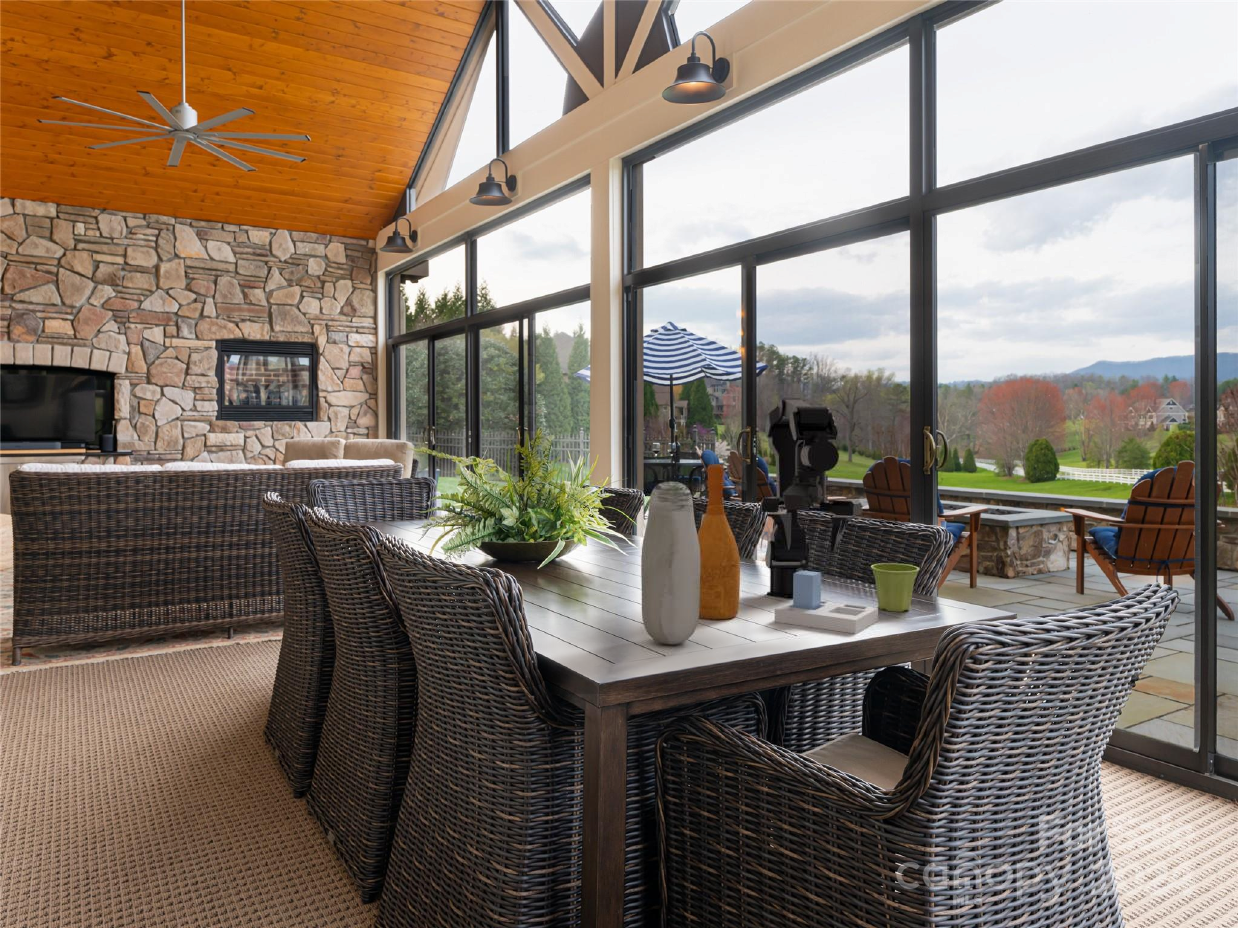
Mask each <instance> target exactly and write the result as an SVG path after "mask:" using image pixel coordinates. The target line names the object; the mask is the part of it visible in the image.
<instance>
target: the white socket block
mask: <svg viewBox="0 0 1238 928" xmlns="http://www.w3.org/2000/svg"><path fill="white" fill-rule="evenodd" d="M774 622H775V623H782V624H787V625H794V626H795V625H796V626H801V627H802V626H803V627H809V628H815V629H821V630H829V631H835V632H842V633H847V634H858V633H859V632H862V631H863V630H865V629H867V628H869V627H870V626H872V625H874V624H876V623H877V622H879V607H870V606H861V605H854V604H847V603H846V604H845V603H838V602H831V601H823V600H821V608H819V609H816V610H809V609H801V608H794V607H793V600H792V601H790V602H788V603H786V604H785V603H784V604H783V605H780V606H778V607H776V608H774Z"/></svg>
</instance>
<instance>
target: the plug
mask: <svg viewBox="0 0 1238 928" xmlns="http://www.w3.org/2000/svg"><path fill="white" fill-rule="evenodd" d="M821 593H822V572H818V571H809V570H802V571H799V572H796V573H793V598H792V601H793V607H794V608H801V609H809V610H816V609H819V608H821V601H822V600H821V599H822V597H821V596H822V594H821Z"/></svg>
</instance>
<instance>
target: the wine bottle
mask: <svg viewBox="0 0 1238 928" xmlns="http://www.w3.org/2000/svg"><path fill="white" fill-rule="evenodd" d="M706 469H707V483H706V484H707V485H706V487H707V488H708V497H707V508H706V509H705V510H706V512H705V514H702V515H701V523H700V527H699V529H698V531H697V536H698V541H699V547H700V600H699V618H700V619H706V620H727V619H733V618H734V617H736V616H737V615H738V613H739V608H740V594H741V593H740V592H741V591H740V589H741V588H740V587H741V586H740V585H741V559H740V552H739V549H738V545H737V542H736V538H735V536H734V534H733V531H732V529H731V527H730V524H729V521H728V519H727V516H726V512H725V509H724V501H723V488H724V487H725V481H724V477H725V467H724V466H723V465H722V464H719V463H714V464H713V463H712V464H710V465H708V466H707V468H706Z"/></svg>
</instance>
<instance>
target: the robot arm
mask: <svg viewBox="0 0 1238 928" xmlns="http://www.w3.org/2000/svg"><path fill="white" fill-rule="evenodd" d="M764 433H765V437H766V438H767V444H768V448H769V449H770V451H771V452H772V454H773V455H774V456H775V467H776V469H775V470H776V472H775V473H776V496H769V497H764V498H762V500H761V501H760V512H761V513H766V516H767V517H769V518H772V520H773V521H774V522H775V525H774V527H773V529H772V531H771V532H770V540H768V543H767V547H766V551H765V557H764V558H765V559H764V560H765V566H766V567H767V568H768V569H769V573H770V575H769V576H770V577H769V578H770V579H769V591H767V592H766V595H768V596H774V597H782V598H789V599H793V573H796V572H799V571H803V569H808V568H809V559H810V554H811V549H812V548H811V547H810V545H809V541H807V537H806V536H807V534H806V533H807V532H806V530H805V528H804V527H802V526H801V524H800V522H799V517H798V514H799V513H798V511H800V512H801V511H802V512H803V511H804V512H805V511H806V512H807V511H809V512H824V513H825V512H830V513H832V514H834V515H835V516H831V517H830V522H831V525H832V526H831V536H830V538H831V539H830V553H835V552H836V551H837V548H838V545H839V543H840V540H841V538H842V536H843V533H844V531H845V529H846V528H847V526H848V524H849V522H850V521H851V520H854V519H856V516H862V515H863V504H862V502H861V501H860V500H859V499H834V500H833V501H832V502H828V498H829V497H828V496H826V493H827V492H826V491H827V490H826V489H827V488H826V487H827V486H826V481H828V480H829V479H828V478H829V476H828V475H826V472H829V471H831V470H833V469H834V468H835V467H836V466H837V464H838V462H839V457H840V453H839V450H838V448H837V447H836V446H835V444H834V443H833V442H831V441H836V440H837V437H838V433H839V431H838V428H837V424H836V420H835V418H834V416H833V413H832V411H830V409H829V407H828V406H827V405H811V404H809V403H807V402H806V401H805V399H804V398H801V397H783V398H780V399H779V403H778V405H777V406H776V407H775V408H774V409H772V410H770V412H769V413H768V415H767V418H766V422H765V432H764Z"/></svg>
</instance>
